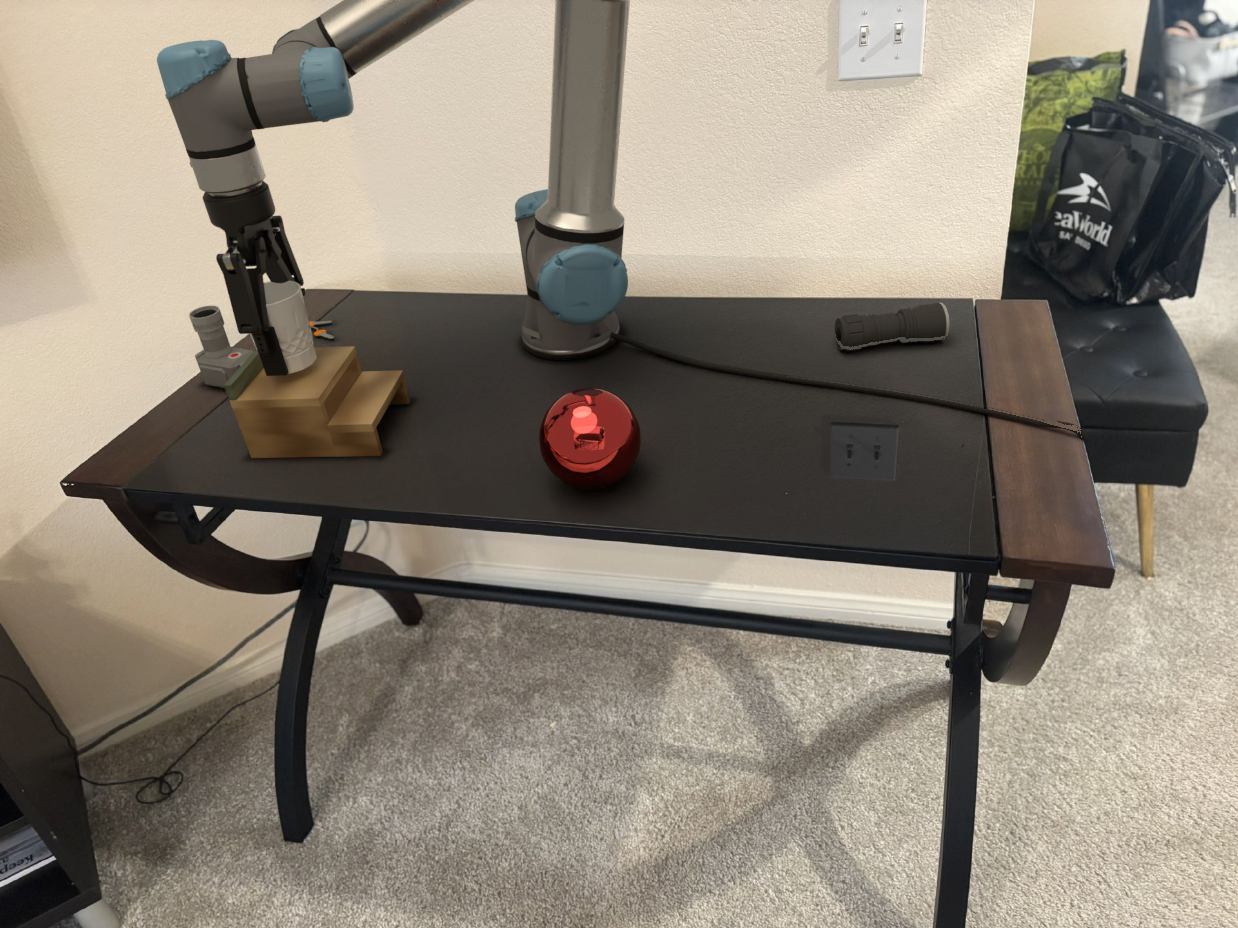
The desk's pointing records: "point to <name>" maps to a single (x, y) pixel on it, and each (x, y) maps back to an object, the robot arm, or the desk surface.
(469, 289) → the desk surface
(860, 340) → the flashlight
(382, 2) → the robot arm
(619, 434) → the ball
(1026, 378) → the desk surface
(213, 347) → the camera
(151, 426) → the desk surface
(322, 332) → the key chain
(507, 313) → the desk surface
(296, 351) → the white cup
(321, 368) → the shelf stand
